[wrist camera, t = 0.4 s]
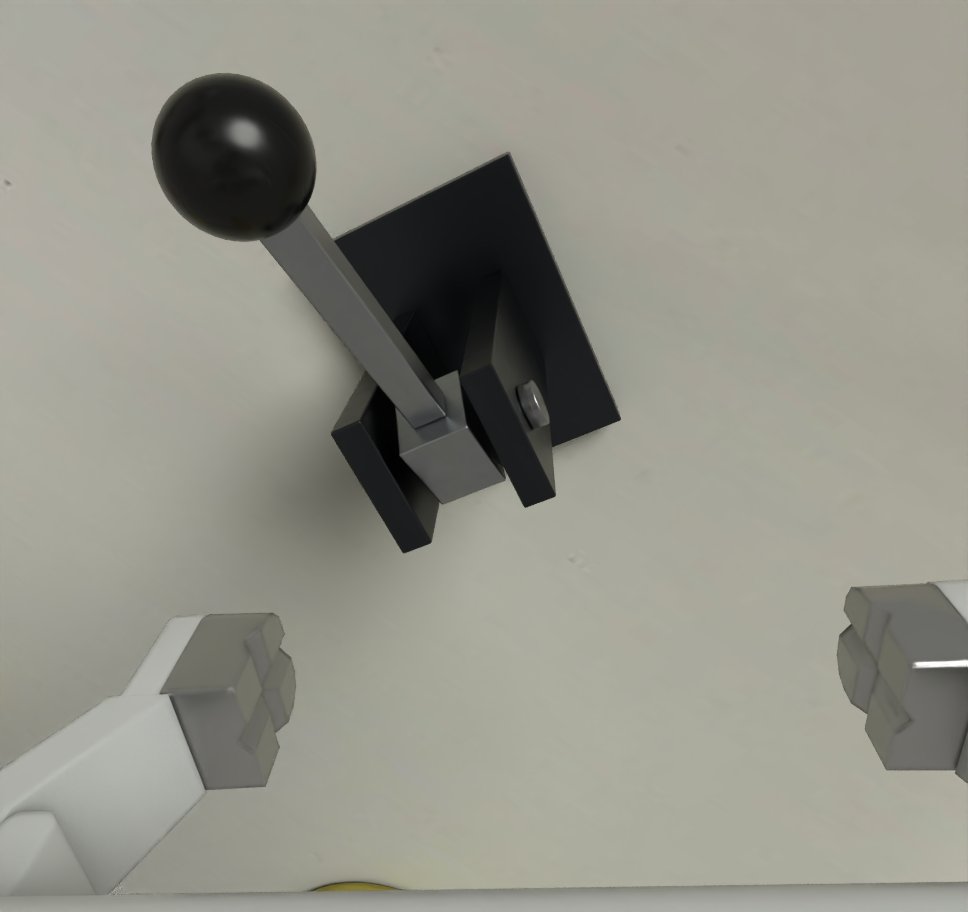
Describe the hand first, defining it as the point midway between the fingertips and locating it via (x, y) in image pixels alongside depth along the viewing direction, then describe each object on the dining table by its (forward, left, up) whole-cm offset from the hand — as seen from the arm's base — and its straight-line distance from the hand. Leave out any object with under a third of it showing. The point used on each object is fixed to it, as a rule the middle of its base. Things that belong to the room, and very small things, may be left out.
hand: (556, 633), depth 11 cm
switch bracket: (+3, -2, -23) cm, 23 cm away
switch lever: (-2, -5, -11) cm, 12 cm away
